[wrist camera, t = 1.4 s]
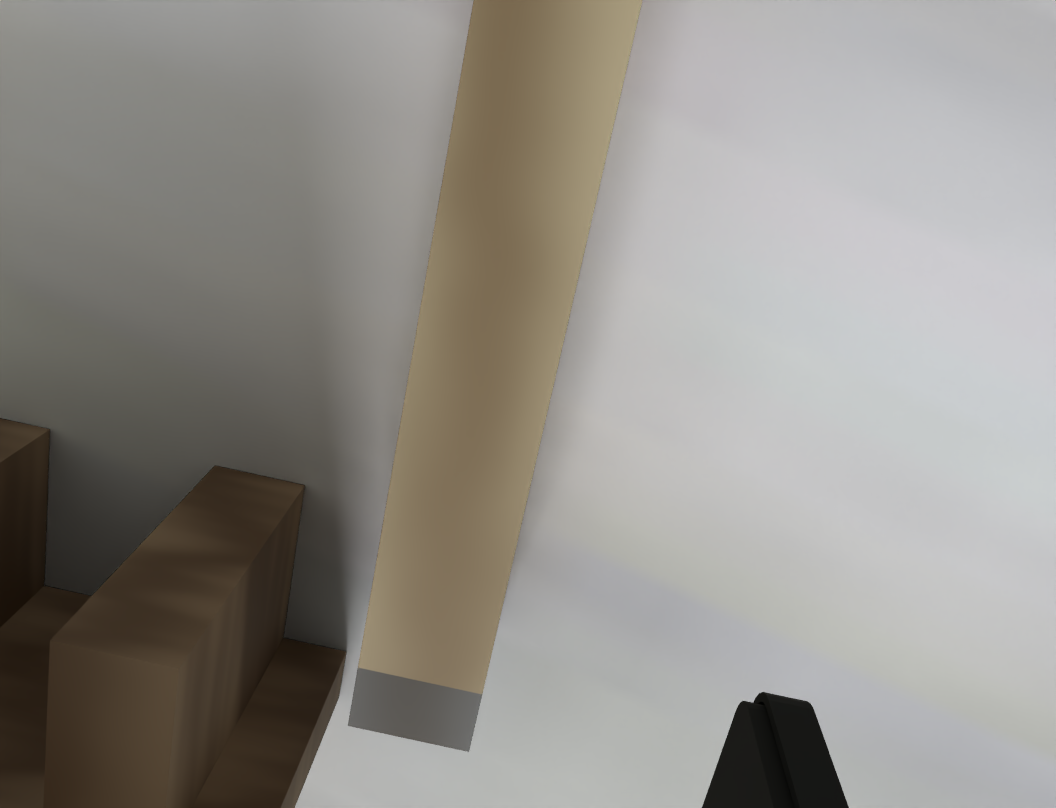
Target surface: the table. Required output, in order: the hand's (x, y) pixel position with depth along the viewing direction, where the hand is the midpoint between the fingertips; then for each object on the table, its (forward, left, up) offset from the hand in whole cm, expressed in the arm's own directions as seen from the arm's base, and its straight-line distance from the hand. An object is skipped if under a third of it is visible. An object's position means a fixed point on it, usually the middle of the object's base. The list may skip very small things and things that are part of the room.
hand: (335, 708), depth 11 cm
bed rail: (0, 0, -19) cm, 19 cm away
